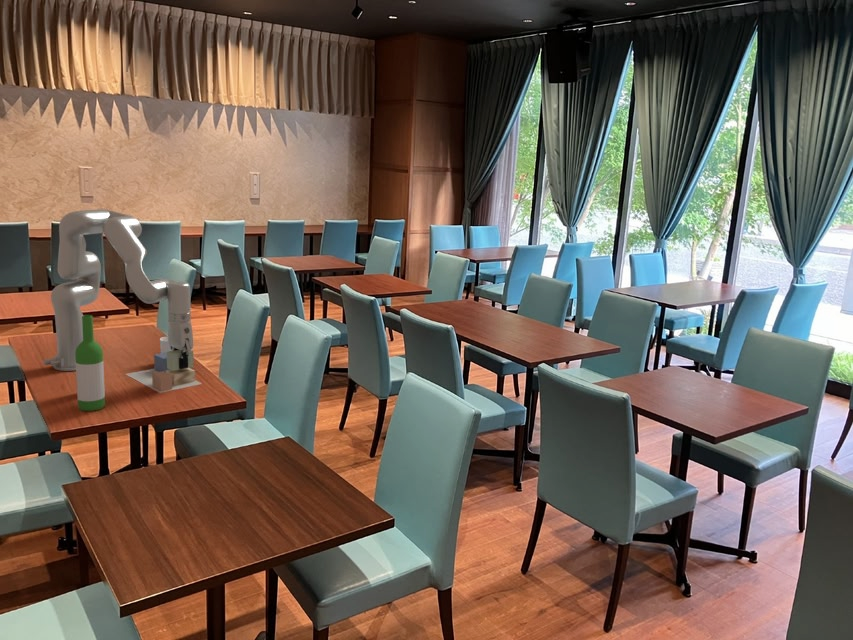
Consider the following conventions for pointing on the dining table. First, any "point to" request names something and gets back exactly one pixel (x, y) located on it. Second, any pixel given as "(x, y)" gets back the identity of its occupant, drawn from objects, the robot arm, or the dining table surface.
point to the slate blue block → (160, 362)
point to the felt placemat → (146, 379)
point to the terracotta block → (162, 381)
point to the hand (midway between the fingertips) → (180, 366)
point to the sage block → (177, 360)
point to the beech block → (182, 376)
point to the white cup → (164, 345)
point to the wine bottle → (89, 369)
